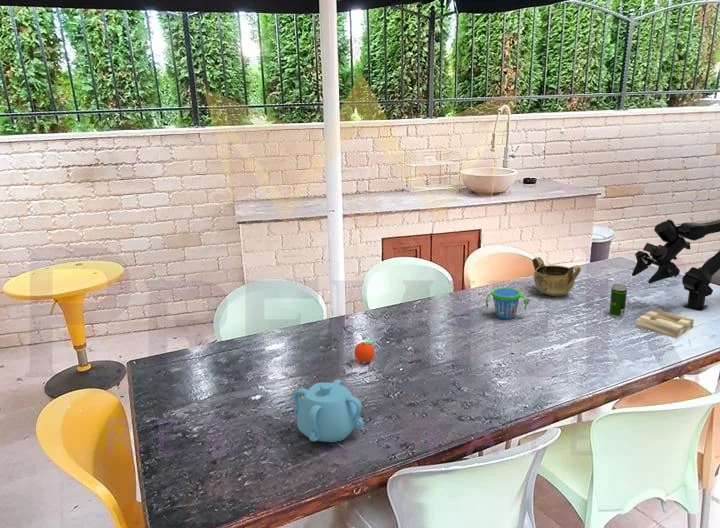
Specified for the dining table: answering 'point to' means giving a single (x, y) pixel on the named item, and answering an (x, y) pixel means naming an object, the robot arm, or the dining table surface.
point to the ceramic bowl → (554, 277)
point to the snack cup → (506, 302)
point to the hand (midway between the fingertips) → (640, 279)
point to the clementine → (364, 352)
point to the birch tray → (665, 323)
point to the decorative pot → (327, 412)
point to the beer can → (618, 300)
